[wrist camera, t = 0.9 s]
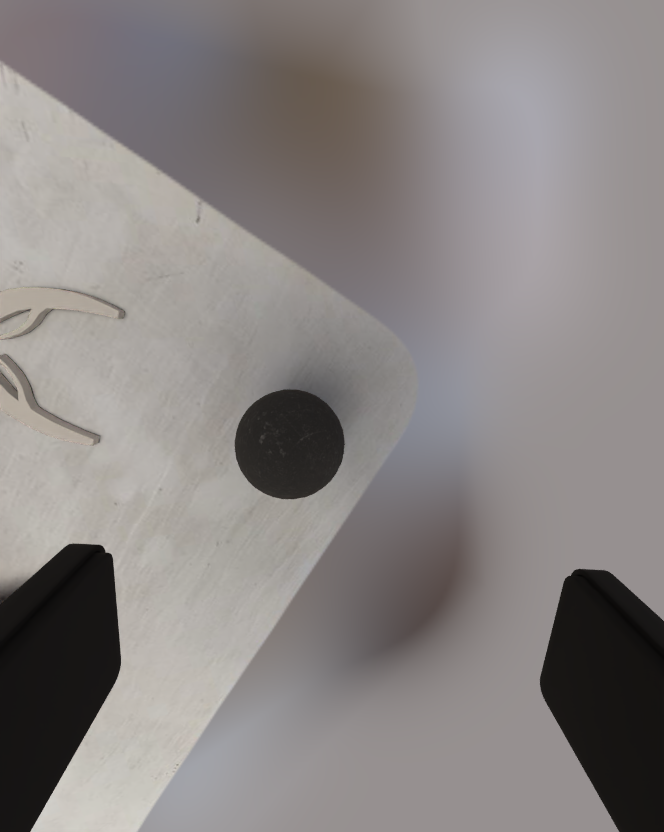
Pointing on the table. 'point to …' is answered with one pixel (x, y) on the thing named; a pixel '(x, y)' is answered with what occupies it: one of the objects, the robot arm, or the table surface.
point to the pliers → (3, 393)
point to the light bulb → (289, 444)
